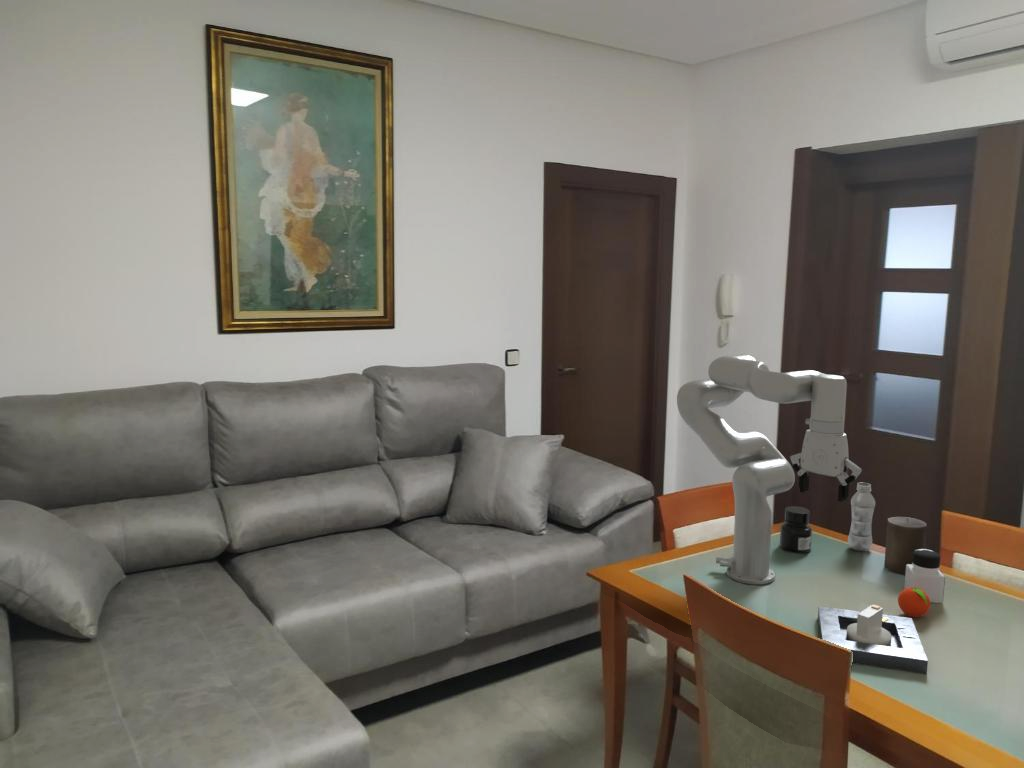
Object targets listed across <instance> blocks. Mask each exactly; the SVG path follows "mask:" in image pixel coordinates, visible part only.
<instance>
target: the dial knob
mask: <svg viewBox="0 0 1024 768" xmlns="http://www.w3.org/2000/svg"><path fill="white" fill-rule="evenodd" d="M883 615H884V607H881V606H880V605H877V604H871V605H869V606H867V608H865V609H863V610H862V611H860V613H859V614H858V618H857V623H853V624H850V625H849V626H848V627H847V637H848V639H849V640H850V641H854V642H861V643H868V644H875V645H883V646H890V645H891V638H892V636H891V634H890V632H889V631H887V630H886V629H884V628H882V617H883Z"/></svg>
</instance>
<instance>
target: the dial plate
mask: <svg viewBox="0 0 1024 768" xmlns="http://www.w3.org/2000/svg"><path fill="white" fill-rule="evenodd" d="M817 609H818V611H817V622H818V623H819V625H818V630H819V631H820V633H819V639H820V638H821V639H823V640H826V641H829V642H831V643H834V644H836V645H839V646H841V647H844V648H847V649H849V650H851V651H852V652H853V662H852V663H851V664H856V665H863V666H869V667H876V668H882V669H883V668H884V669H891V670H896V671H902V672H904V671H905V672H909V673H916V674H923V675H928V663H929V660H928V657H927V654H926V652H925V650H924V647H923V644H922V642H921V639H920V636H919V633H918V631H917V629H916V625H915V622H914V620H913V618H911V617H906V616H905V617H904V616H898V615H897V616H896V615H890V614H883V617H882V628H884V629H886V630H887V631H889V632H890V634H891V636H892V638H891V645H890V646H883V645H875V644H868V643H861V642H854V641H850V640H849V639H848V637H847V627H848V626H849V625H850V624H853V623H857V618H858V614H859V613H860V612H861V611H858V610H851V609H844V608H843V609H842V608H837V607H827V606H821V605H820V606H818V607H817ZM819 631H818V632H819Z"/></svg>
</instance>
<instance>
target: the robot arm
mask: <svg viewBox="0 0 1024 768" xmlns="http://www.w3.org/2000/svg"><path fill="white" fill-rule="evenodd" d="M707 370H708V373H707V374H708V377H709V378H705V379H704V378H703V379H702V378H701V379H697V380H696V379H694V380H692V381H689V382H686V383H684V384H683V385H682V386H680V388H678V390H677V395H676V405H677V410H678V413H679V415H680V417H681V419H682V420H683V421H684V422H685V424H686V425H687V426H688V427H689V428H690V430H692V431H693V432H694V433H695V434H696V435H697V436H698V437H699V439H701V442H702V443H704V446H706V447H707V448H708V450H709V451H710V452H711V454H712V455H713V456H714V457H715V458H716V460H717V461H718V462H719V464H720V465H722V466H723V467H724V468H728V469H735V468H736V469H735V470H734V472H733V474H732V480H731V482H732V489H733V496H734V526H733V527H734V528H733V530H734V531H733V532H734V534H733V549H732V550H733V553H732V554H731V556H728V557H724V556H719V555H718V556H715V564H719V566H720V567H726V574H727V577H729V578H730V577H731V578H730V579H731V580H734V581H736V582H740V583H743V584H748V585H766V584H771V583H772V582H774V581H775V579H776V573H775V572H774V570H773V569H772V568H771V567H770V566H771V565H770V563H771V545H772V544H771V542H772V525H773V522H772V520H773V514H772V509H771V506H770V504H769V501H768V497H770V496H773V495H778V494H782V493H785V492H787V491H790V490H791V489H792V487H793V486H794V484H795V480H796V475H795V472H794V470H795V471H796V474H797V476H798V478H799V479H798V488H799V493H805V492H807V491H809V488H810V474H808V473H813V474H817V475H822V476H826V477H827V476H828V477H830V478H831V477H835V478H837V480H838V482H839V483H840V484H839V485H838V491H837V492H838V493H837V501H838V502H844V501H846V500H847V498H849V495H850V493H849V492H850V484H852V483H853V482H855V481H856V480H857V479H858V477H859V475H860V474H861V473H862V471H863V469H862V468H861V467H859V466H858V465H857V464H856V463H854V461H853V462H852V460H850V459H849V458H850V457H849V444H848V437H847V436H848V435H847V433H845V419H846V405H847V403H846V402H847V401H846V400H847V389H848V384H847V381H848V380H847V379H846V378H845V377H844V376H842V375H837V374H826V373H822V372H820V371H816V370H812V369H811V370H810V369H807V370H806V369H805V370H797V371H796V370H795V371H788V372H787V371H786V372H778V371H773V370H772V371H770V369H769V366H768V365H767V364H766V363H764V362H763V361H760V360H759V361H758V360H756V359H755V357H753V356H751V355H748V354H736V355H735V354H734V355H733V354H732V355H724V356H719V357H717V358H715V359H713V361H711V363H710V364H709V366H708V369H707ZM746 392H747V393H750V394H751V395H753V396H754V397H755V398H757V399H760V400H764V401H768V402H771V403H772V402H773V403H777V404H784V405H785V404H786V405H787V404H793V403H801V402H802V403H803V402H808V401H809V402H810V401H811V405H810V417H809V418H805V422H804V423H805V425H808V426H809V429H806V430H805V434H804V438H803V442H802V447H801V452H799V453H795V454H792V455H790V456H789V459H790V461H791V463H792V465H791V464H790V462H789V461H788V460H787V459H786V457H785V456H784V455H783V454H782V453H781V452H780V451H779V450H778V448H777V447H776V446H775V445H774V444H773V443H772V442H771V441H770V439H769V438H768V437H766V435H764V434H763V433H761V432H758V431H756V430H744V431H736V430H734V429H733V428H732V426H730V425H729V424H728V422H727V421H726V420H725V419H724V418H723V417H722V416H720V415H719V414H717V413H715V412H714V411H712V410H711V409H713V408H722V407H726V406H728V405H731V404H733V403H734V402H735V401H736V400H737V399H739V398H740V397H741V396H742V395H743V394H744V393H746ZM849 469H850V470H851V474H850V475H849V474H848V471H849Z"/></svg>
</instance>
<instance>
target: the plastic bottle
mask: <svg viewBox="0 0 1024 768" xmlns="http://www.w3.org/2000/svg"><path fill="white" fill-rule="evenodd" d="M856 490H857V492H855V493H854V495H852V497H851V499H850V505H851V506H850V508H851V525H850V530H849V534H848V537H847V543H848V544H847V545H848V546H849V548H850V549H852V550H855V551H860V552H861V551H862V552H864V551H865V552H866V551H869V550H870V549H872V546H873V536H872V523H873V515H874V511H875V508H876V500H875V498H874V496H873V495H872V493H871V492H872V484H871V483H867V482H857V484H856Z"/></svg>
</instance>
